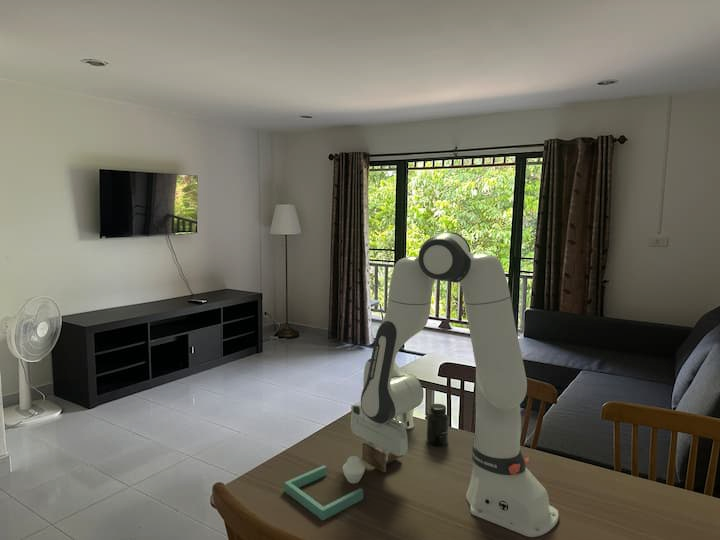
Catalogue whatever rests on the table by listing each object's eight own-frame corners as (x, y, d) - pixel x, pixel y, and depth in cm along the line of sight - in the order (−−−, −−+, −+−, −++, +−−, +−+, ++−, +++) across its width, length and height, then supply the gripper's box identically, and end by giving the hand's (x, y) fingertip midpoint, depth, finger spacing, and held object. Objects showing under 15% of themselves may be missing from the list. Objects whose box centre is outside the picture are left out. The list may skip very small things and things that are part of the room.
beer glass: (415, 430, 165) (416, 387, 163) (395, 430, 165) (396, 387, 163) (413, 421, 172) (414, 380, 170) (394, 421, 172) (394, 380, 170)
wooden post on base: (410, 459, 143) (410, 443, 142) (383, 472, 136) (384, 455, 135) (388, 448, 149) (388, 432, 149) (362, 460, 142) (362, 443, 142)
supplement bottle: (447, 448, 153) (448, 411, 151) (425, 445, 154) (426, 409, 153) (448, 438, 159) (449, 403, 158) (427, 436, 161) (428, 401, 159)
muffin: (344, 487, 131) (344, 463, 130) (340, 475, 136) (340, 452, 136) (367, 485, 132) (367, 460, 131) (362, 473, 138) (362, 449, 137)
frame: (363, 499, 125) (363, 490, 125) (322, 520, 117) (322, 510, 116) (323, 473, 138) (323, 465, 137) (284, 491, 129) (284, 482, 128)
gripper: (413, 420, 133) (412, 468, 134) (363, 399, 148) (362, 442, 150) (397, 427, 129) (396, 476, 130) (347, 404, 144) (347, 448, 145)
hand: (378, 458), depth 140 cm, fingers closed on wooden post on base, 3 cm apart
